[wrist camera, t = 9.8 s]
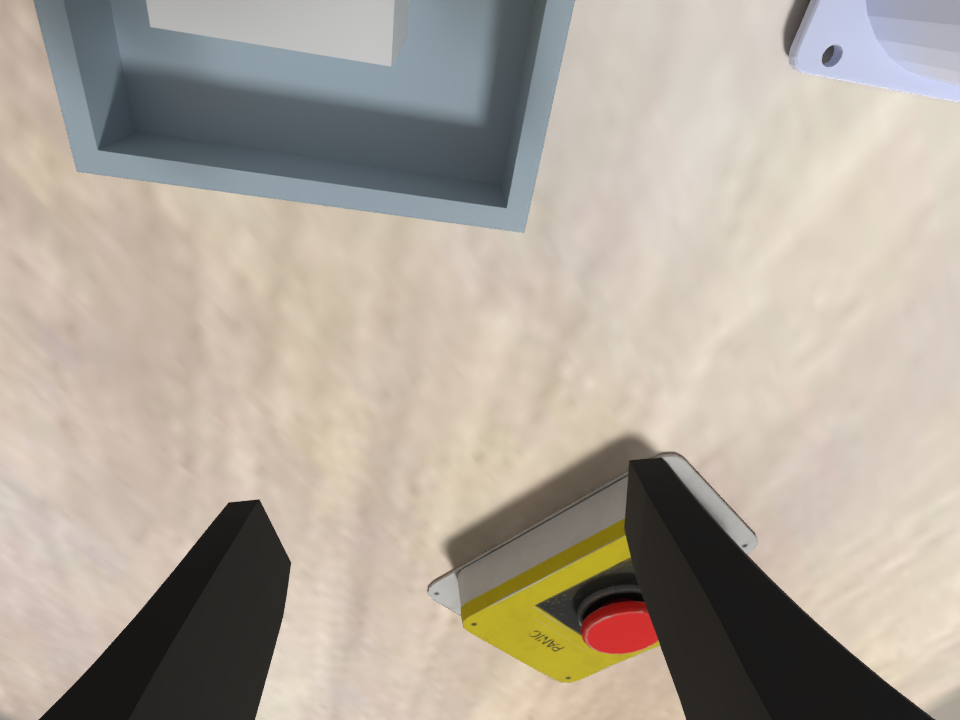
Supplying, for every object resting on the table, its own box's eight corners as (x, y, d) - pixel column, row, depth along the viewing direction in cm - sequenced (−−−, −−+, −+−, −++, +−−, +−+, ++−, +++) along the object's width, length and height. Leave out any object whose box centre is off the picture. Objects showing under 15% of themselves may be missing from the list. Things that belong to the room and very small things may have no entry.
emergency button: (804, 618, 25) (537, 725, 30) (759, 535, 28) (527, 644, 33) (707, 520, 20) (415, 666, 26) (668, 437, 24) (419, 580, 29)
